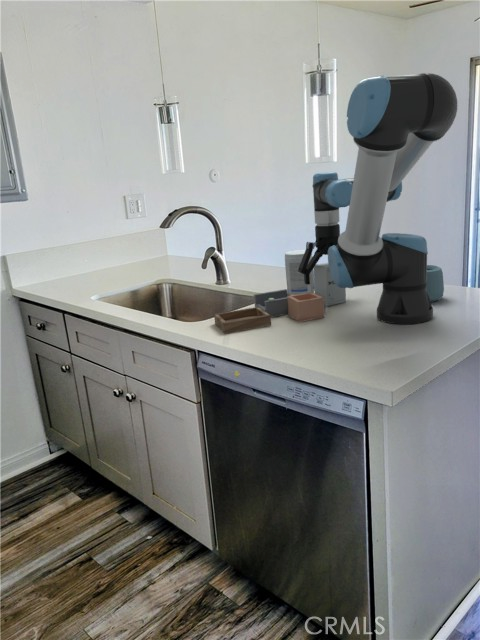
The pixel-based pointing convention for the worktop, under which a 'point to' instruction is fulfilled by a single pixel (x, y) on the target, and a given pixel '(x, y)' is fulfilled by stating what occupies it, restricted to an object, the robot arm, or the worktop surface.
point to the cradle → (273, 302)
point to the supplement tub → (295, 273)
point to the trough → (242, 319)
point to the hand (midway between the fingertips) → (330, 290)
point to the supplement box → (327, 286)
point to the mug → (434, 282)
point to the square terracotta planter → (305, 306)
